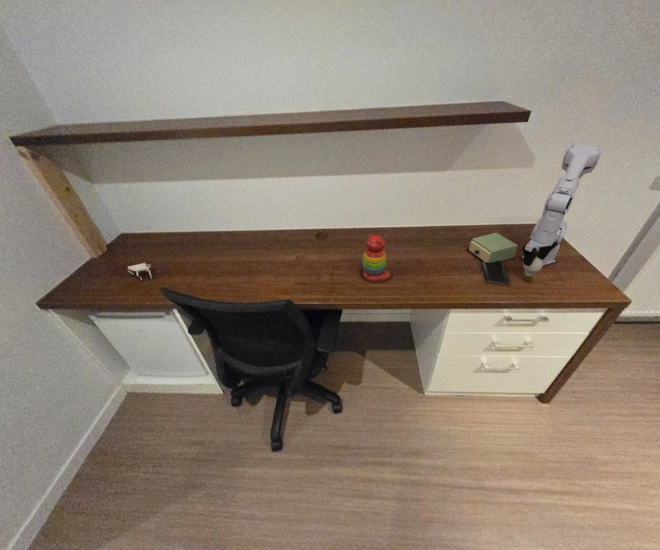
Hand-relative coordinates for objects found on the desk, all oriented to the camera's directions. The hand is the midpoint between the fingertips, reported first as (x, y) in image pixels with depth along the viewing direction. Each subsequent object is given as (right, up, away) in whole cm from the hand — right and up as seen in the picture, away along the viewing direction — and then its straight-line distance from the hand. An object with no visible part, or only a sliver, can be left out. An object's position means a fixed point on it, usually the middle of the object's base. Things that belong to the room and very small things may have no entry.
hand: (533, 261), depth 109 cm
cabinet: (-5, +4, +20) cm, 21 cm away
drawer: (-7, +4, +19) cm, 21 cm away
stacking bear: (-56, -5, +13) cm, 58 cm away
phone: (-9, -4, +10) cm, 14 cm away
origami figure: (-156, -5, +23) cm, 158 cm away
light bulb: (+1, -7, +5) cm, 9 cm away
